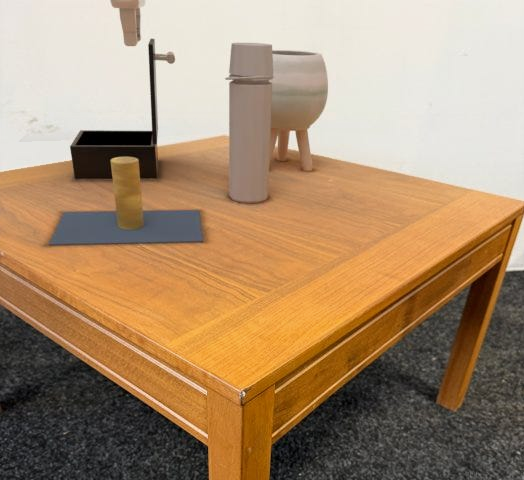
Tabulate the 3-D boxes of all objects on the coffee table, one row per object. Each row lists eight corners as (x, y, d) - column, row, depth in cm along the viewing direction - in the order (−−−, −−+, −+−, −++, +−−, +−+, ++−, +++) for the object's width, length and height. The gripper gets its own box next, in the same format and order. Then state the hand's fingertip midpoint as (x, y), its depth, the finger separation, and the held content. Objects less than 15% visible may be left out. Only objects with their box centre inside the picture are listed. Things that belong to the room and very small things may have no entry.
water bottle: (277, 201, 100) (285, 45, 87) (243, 208, 96) (245, 46, 83) (247, 188, 106) (250, 41, 93) (213, 195, 102) (211, 41, 89)
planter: (277, 155, 130) (282, 47, 118) (334, 168, 122) (346, 54, 109) (232, 167, 119) (232, 50, 107) (291, 183, 111) (299, 58, 99)
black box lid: (148, 44, 95) (175, 45, 96) (150, 38, 107) (174, 40, 108) (152, 144, 104) (177, 144, 105) (154, 128, 116) (176, 129, 117)
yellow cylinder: (116, 230, 84) (109, 163, 78) (118, 221, 87) (111, 156, 82) (143, 229, 84) (137, 163, 79) (144, 220, 88) (139, 156, 82)
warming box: (75, 183, 106) (69, 146, 102) (84, 163, 118) (80, 130, 114) (157, 182, 108) (155, 146, 104) (158, 163, 120) (156, 130, 116)
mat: (49, 247, 79) (48, 244, 78) (64, 215, 90) (64, 211, 90) (203, 244, 82) (203, 240, 81) (198, 213, 93) (198, 209, 93)
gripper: (107, -67, 83) (117, 38, 91) (90, -82, 66) (104, 48, 74) (149, -64, 84) (156, 39, 91) (143, -80, 67) (152, 49, 74)
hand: (133, 43), depth 82 cm, fingers open, 8 cm apart
